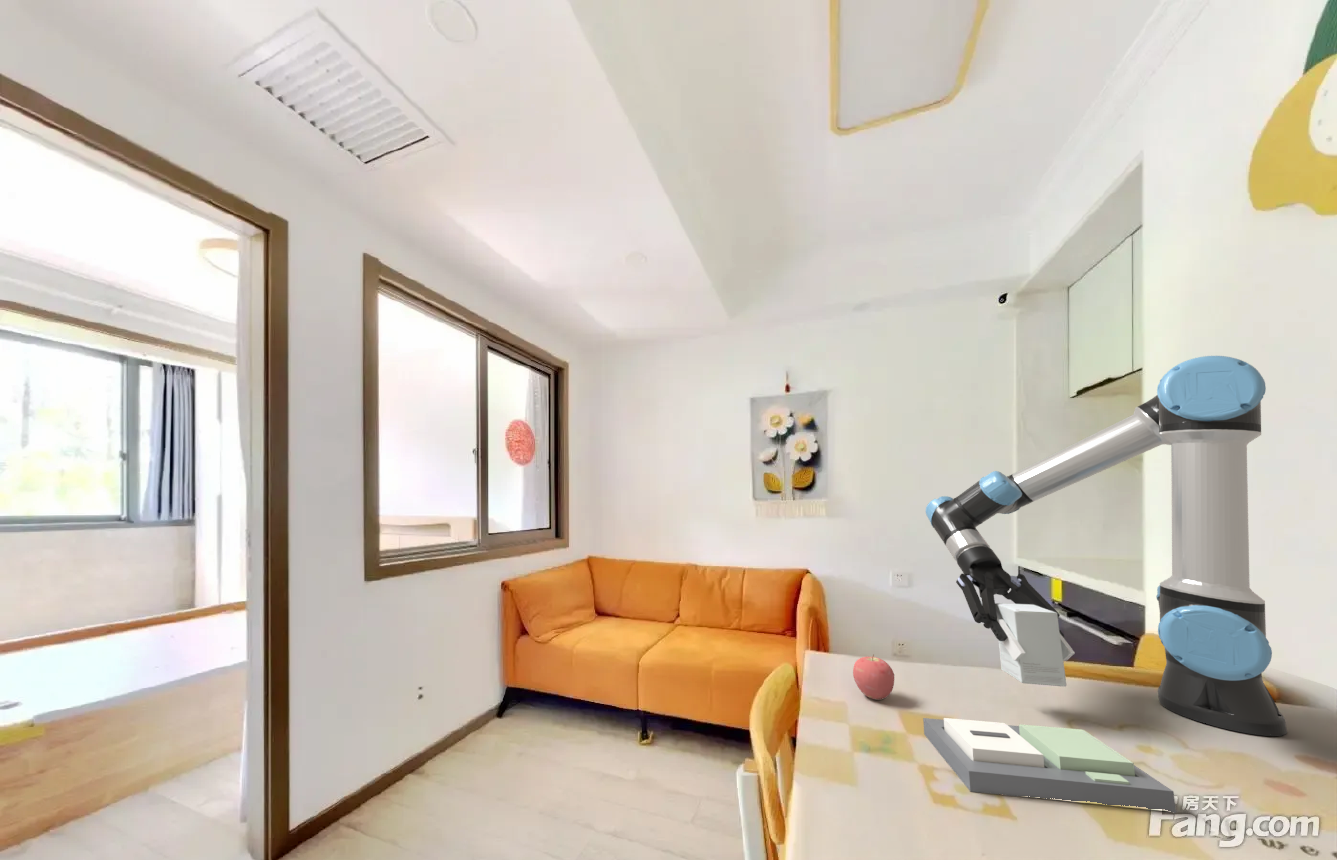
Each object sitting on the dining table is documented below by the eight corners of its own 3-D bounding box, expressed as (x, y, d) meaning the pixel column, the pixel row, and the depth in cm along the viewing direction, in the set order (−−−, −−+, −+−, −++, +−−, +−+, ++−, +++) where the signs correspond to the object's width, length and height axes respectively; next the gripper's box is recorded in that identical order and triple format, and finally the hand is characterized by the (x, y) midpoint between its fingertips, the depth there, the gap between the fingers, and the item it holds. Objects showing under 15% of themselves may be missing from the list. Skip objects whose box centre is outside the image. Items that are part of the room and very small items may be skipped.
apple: (864, 686, 94) (862, 645, 95) (901, 698, 89) (898, 655, 90) (847, 696, 89) (845, 653, 90) (885, 709, 84) (883, 664, 85)
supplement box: (1068, 687, 80) (1059, 612, 82) (1021, 684, 81) (1013, 610, 83) (1042, 672, 87) (1034, 603, 89) (999, 669, 88) (992, 602, 90)
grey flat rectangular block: (1085, 748, 72) (1082, 720, 72) (1176, 813, 57) (1171, 776, 58) (924, 734, 75) (922, 707, 76) (970, 791, 60) (967, 757, 61)
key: (1084, 743, 69) (1082, 729, 70) (1135, 779, 61) (1133, 763, 61) (1020, 738, 71) (1018, 724, 71) (1060, 772, 62) (1059, 756, 62)
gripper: (1012, 566, 102) (1089, 667, 84) (920, 566, 102) (978, 667, 83) (1028, 544, 98) (1113, 645, 80) (932, 544, 97) (996, 646, 79)
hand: (1044, 656), depth 82 cm, fingers closed on supplement box, 8 cm apart
